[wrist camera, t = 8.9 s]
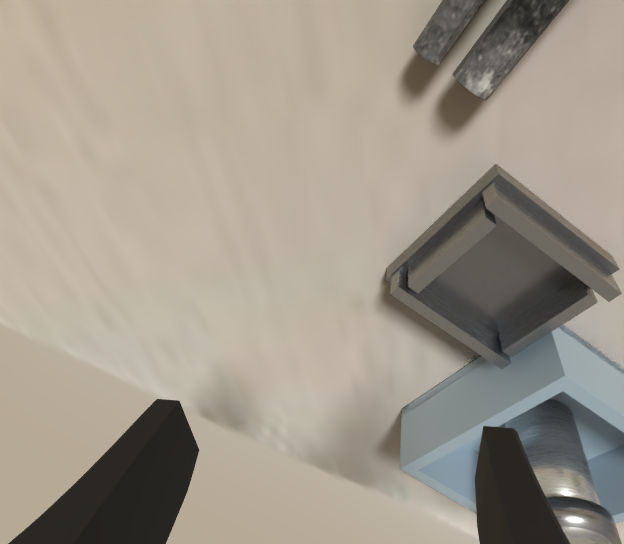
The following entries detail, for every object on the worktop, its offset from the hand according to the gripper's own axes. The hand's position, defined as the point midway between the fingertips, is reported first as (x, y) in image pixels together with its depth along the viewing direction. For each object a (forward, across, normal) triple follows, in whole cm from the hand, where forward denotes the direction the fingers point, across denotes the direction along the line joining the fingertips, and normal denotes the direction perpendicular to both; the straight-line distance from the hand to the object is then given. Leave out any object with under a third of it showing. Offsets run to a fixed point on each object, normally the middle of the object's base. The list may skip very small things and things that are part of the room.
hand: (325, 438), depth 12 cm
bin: (+10, -8, +11) cm, 17 cm away
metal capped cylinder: (+9, -8, +11) cm, 16 cm away
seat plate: (+10, -5, +2) cm, 11 cm away
